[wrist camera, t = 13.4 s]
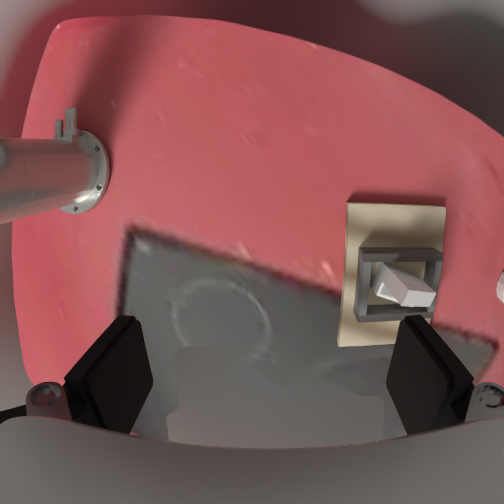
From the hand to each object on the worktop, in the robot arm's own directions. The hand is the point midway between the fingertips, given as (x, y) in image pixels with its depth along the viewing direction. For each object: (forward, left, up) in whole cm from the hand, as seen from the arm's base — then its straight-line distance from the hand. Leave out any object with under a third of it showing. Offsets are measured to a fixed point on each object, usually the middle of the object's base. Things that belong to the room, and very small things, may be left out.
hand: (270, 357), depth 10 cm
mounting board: (+8, +15, -30) cm, 34 cm away
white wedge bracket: (+8, +15, -29) cm, 33 cm away
